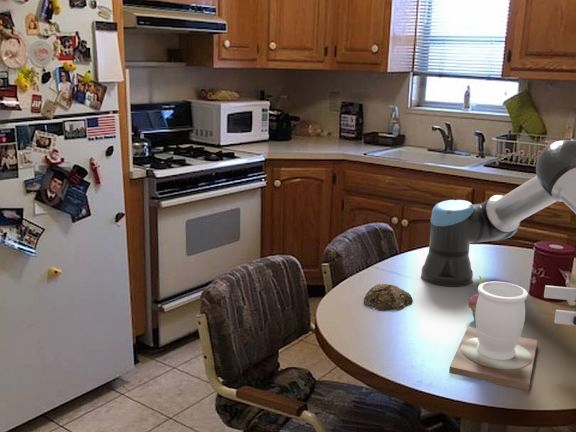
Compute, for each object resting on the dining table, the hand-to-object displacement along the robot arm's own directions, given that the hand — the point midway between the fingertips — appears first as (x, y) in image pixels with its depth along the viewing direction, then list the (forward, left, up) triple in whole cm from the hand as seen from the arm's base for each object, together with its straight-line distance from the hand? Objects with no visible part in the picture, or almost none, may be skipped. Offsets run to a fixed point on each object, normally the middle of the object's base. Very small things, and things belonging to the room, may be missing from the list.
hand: (549, 303), depth 132 cm
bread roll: (+9, -44, -15) cm, 48 cm away
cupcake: (-6, -23, -15) cm, 28 cm away
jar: (+7, -7, -13) cm, 16 cm away
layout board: (+7, -7, -15) cm, 18 cm away
